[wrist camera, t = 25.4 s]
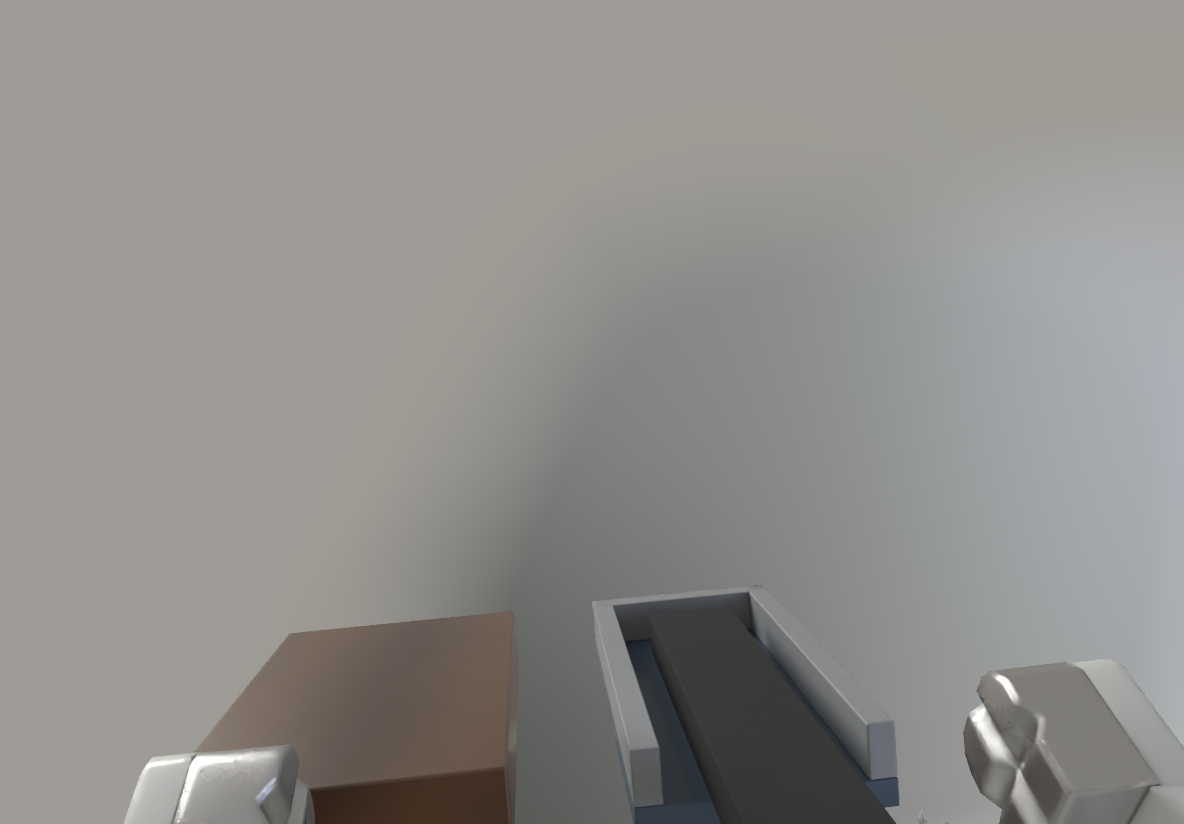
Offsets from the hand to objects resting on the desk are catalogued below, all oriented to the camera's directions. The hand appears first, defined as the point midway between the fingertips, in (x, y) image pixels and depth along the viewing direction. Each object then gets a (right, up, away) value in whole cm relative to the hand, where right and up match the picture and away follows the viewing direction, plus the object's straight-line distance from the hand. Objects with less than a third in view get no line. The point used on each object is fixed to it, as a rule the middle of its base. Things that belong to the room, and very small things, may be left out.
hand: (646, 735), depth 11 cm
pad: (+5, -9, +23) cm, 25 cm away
